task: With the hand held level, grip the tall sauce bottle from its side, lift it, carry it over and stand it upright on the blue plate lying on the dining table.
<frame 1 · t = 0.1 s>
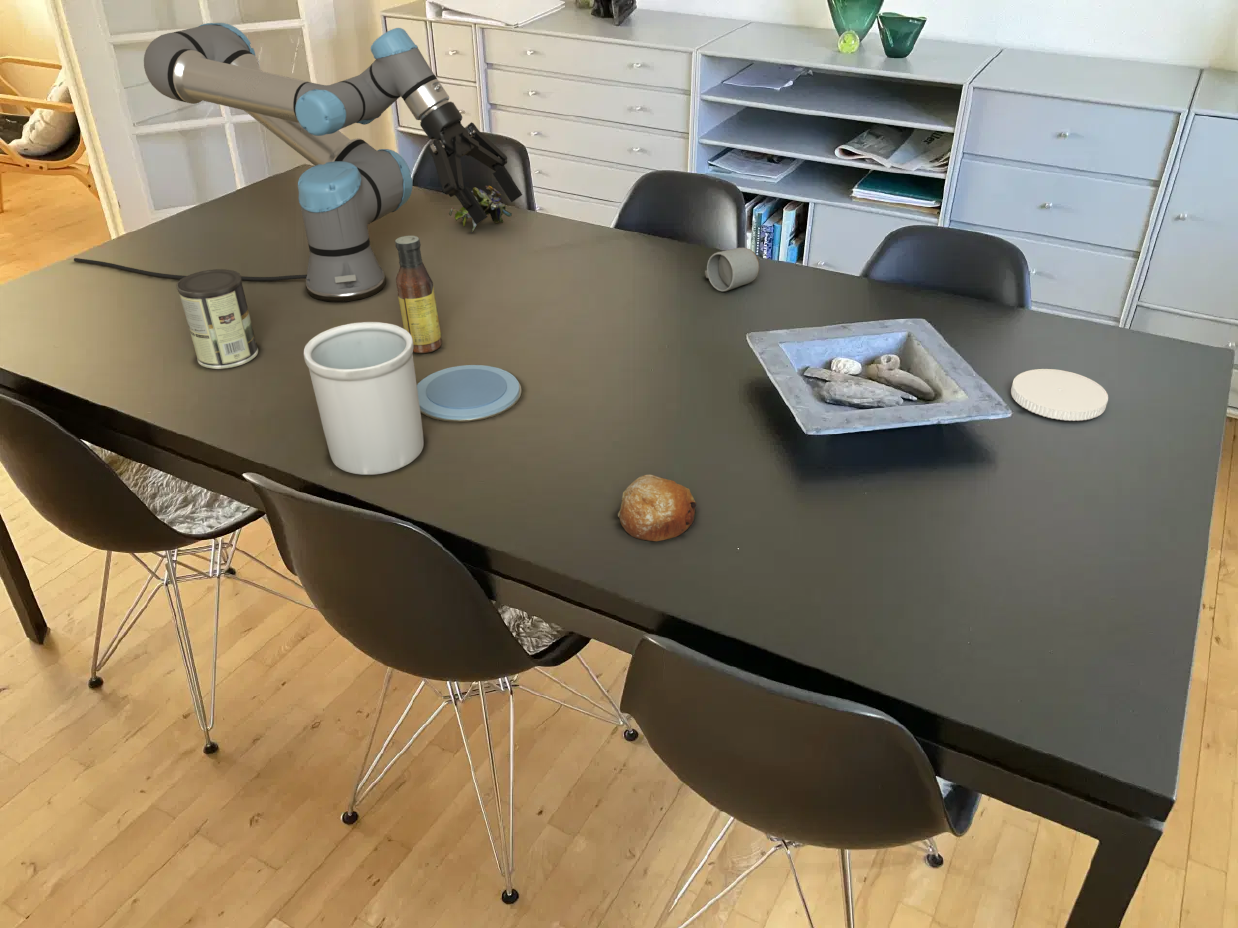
hand: (500, 209, 190), 15 cm above the table, tool tilted 35°, fingers open, 13 cm apart
utensil holder: (376, 451, 147), on the table
blue plate: (467, 394, 161), on the table
ceramic mug: (727, 285, 198), on the table
plastic lid: (1055, 404, 157), on the table
bread roll: (657, 520, 132), on the table
sauce bottle: (423, 348, 175), on the table
passion flower: (481, 228, 226), on the table
coffee can: (228, 356, 173), on the table
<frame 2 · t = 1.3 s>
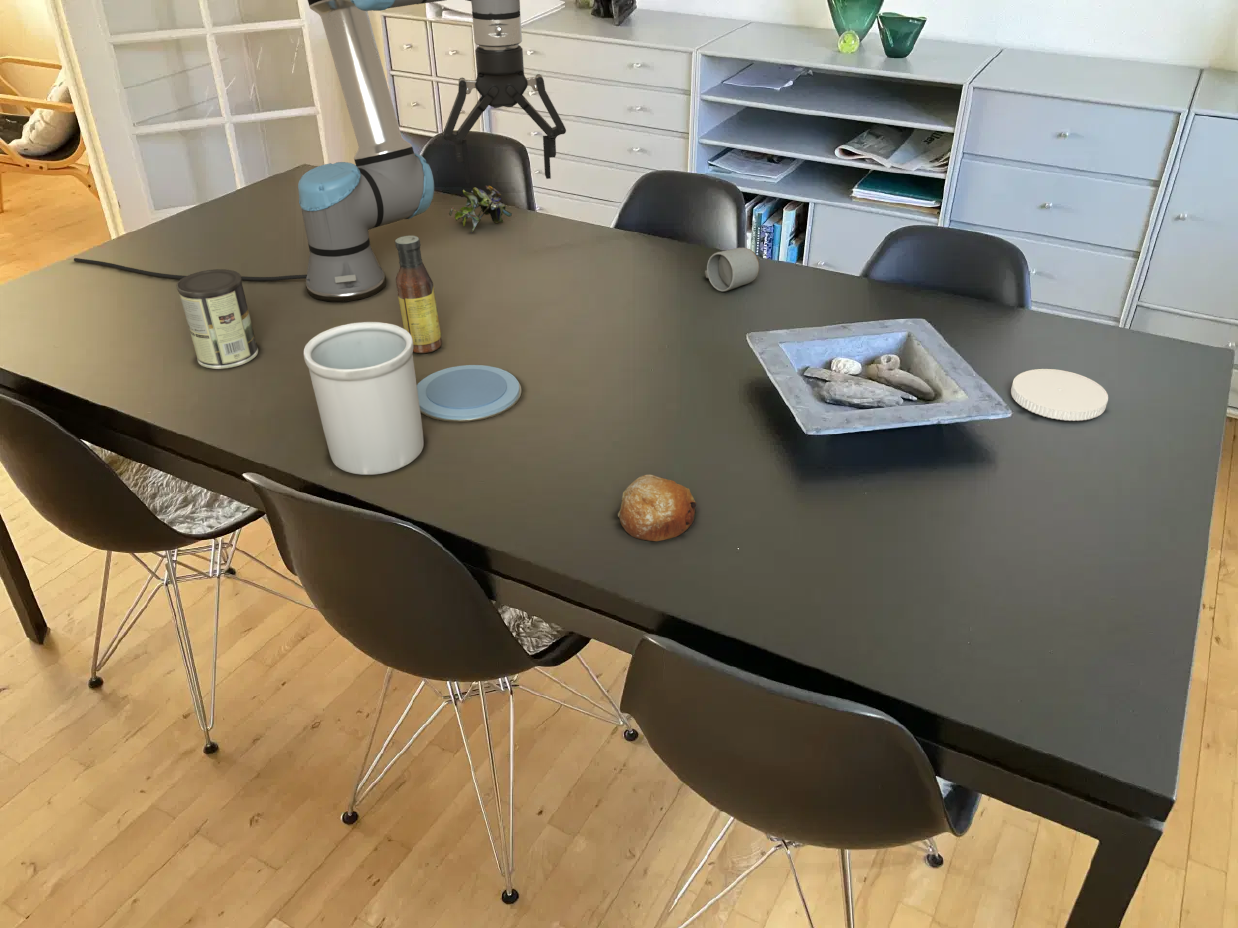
hand: (508, 179, 169), 27 cm above the table, tool pointing down, fingers open, 13 cm apart
nothing on the table moved.
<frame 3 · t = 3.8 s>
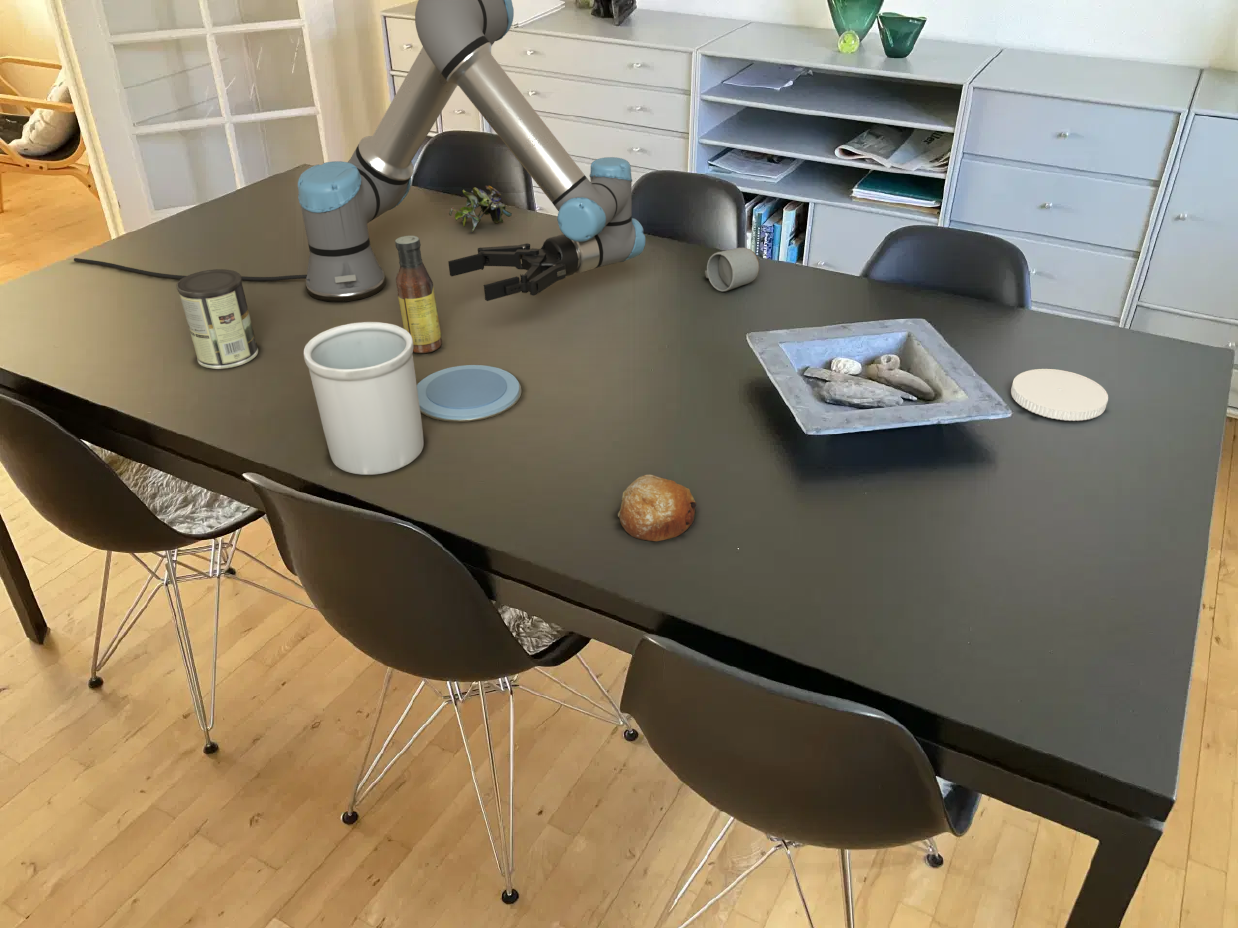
hand: (466, 280, 174), 10 cm above the table, tool horizontal, fingers open, 13 cm apart
nothing on the table moved.
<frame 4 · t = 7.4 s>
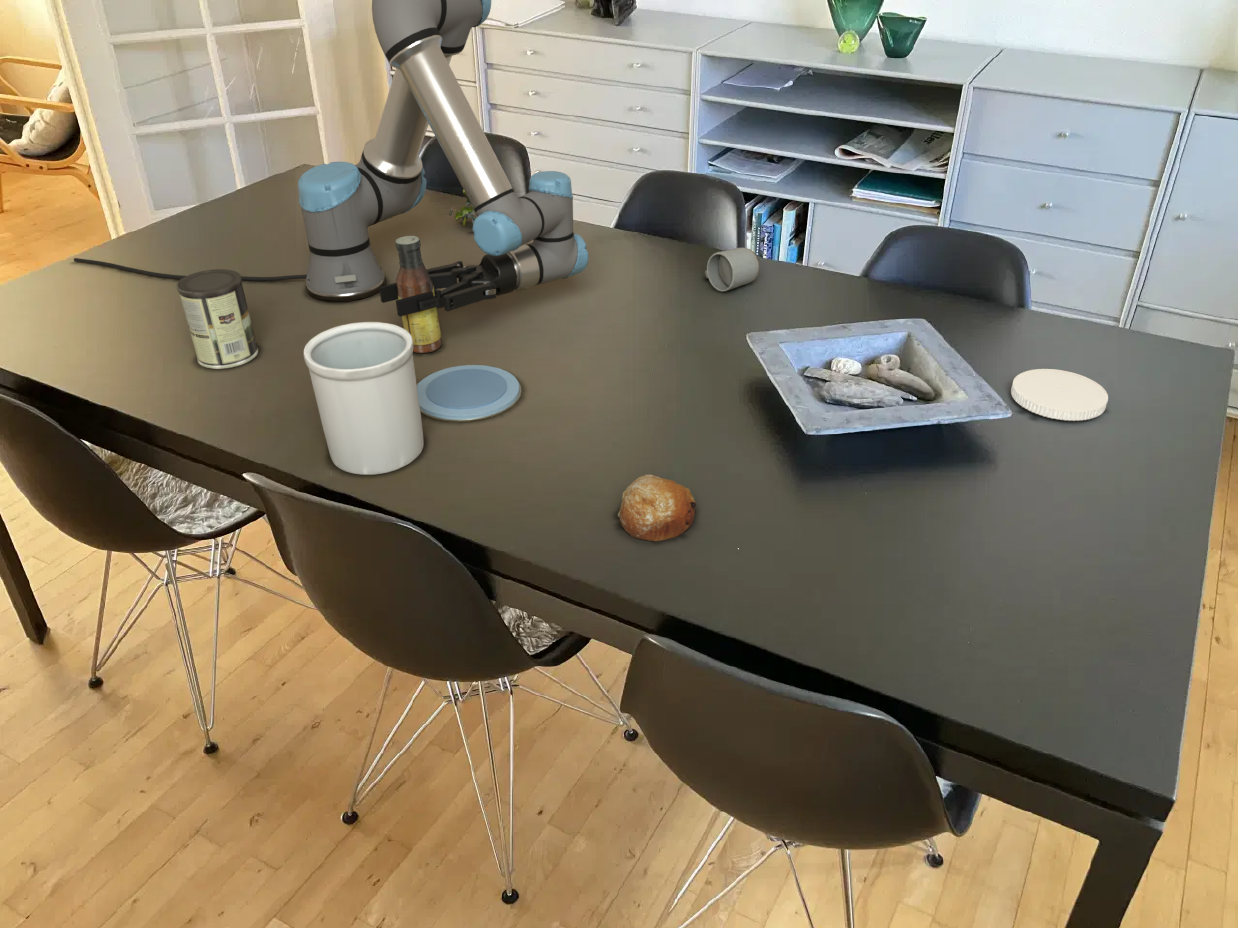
hand: (389, 301, 167), 10 cm above the table, tool horizontal, fingers closed on sauce bottle, 6 cm apart
sauce bottle: (423, 348, 175), on the table, touching gripper
everything else where it was.
when the fingers open (11 cm above the table, at t = 16.0 s): sauce bottle stays where it is, resting on blue plate.
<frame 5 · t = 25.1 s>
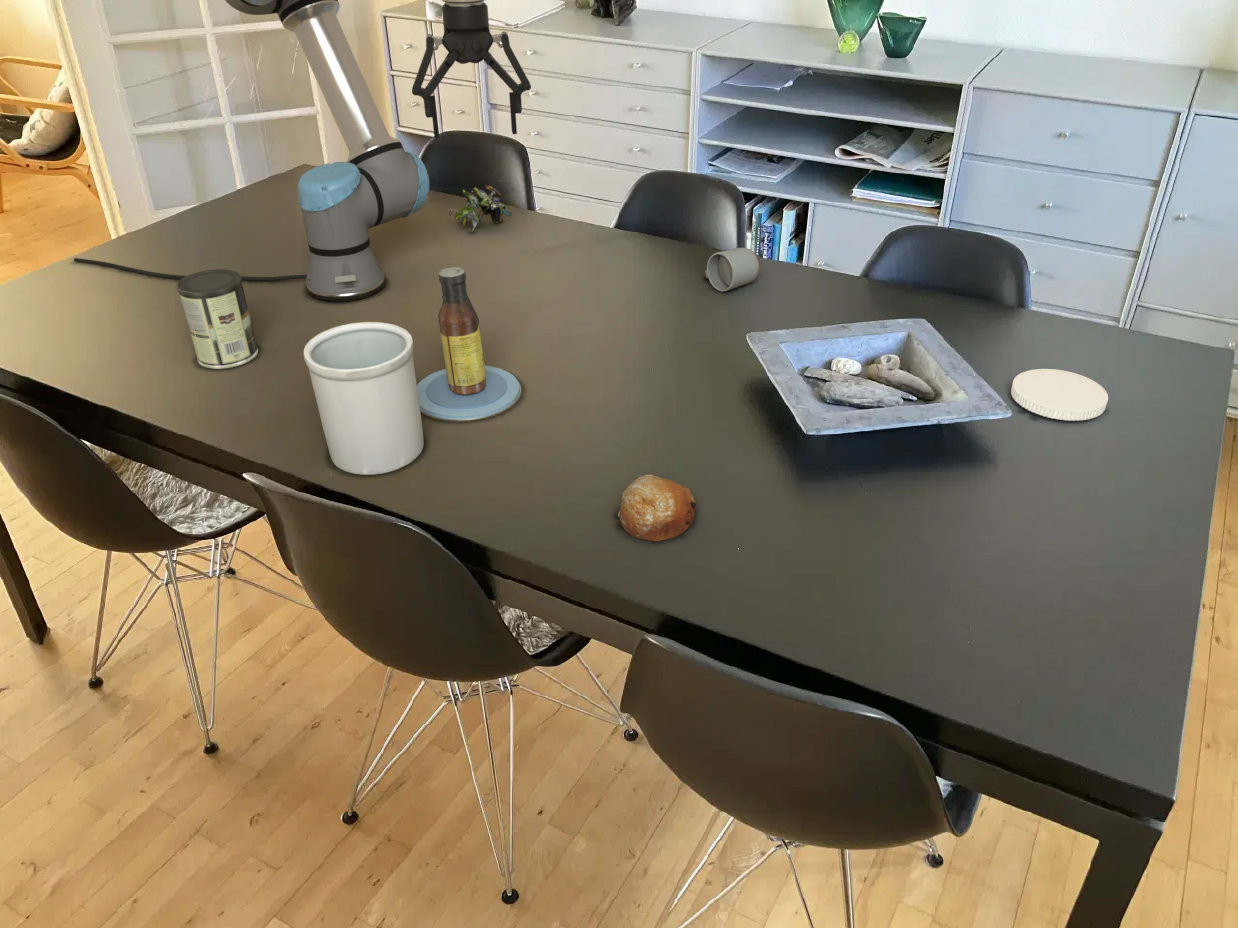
hand: (475, 134, 174), 32 cm above the table, tool pointing down, fingers open, 13 cm apart
sauce bottle: (466, 388, 160), point 1 cm above the table, touching blue plate
everything else where it was.
at the end: sauce bottle inside the target area on the blue plate (0.0 cm from its centre), point 1.1 cm above the blue plate's base; sauce bottle tilted 0°; the gripper is holding nothing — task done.
